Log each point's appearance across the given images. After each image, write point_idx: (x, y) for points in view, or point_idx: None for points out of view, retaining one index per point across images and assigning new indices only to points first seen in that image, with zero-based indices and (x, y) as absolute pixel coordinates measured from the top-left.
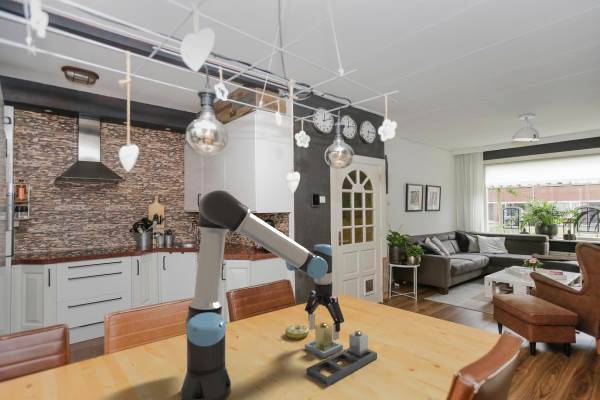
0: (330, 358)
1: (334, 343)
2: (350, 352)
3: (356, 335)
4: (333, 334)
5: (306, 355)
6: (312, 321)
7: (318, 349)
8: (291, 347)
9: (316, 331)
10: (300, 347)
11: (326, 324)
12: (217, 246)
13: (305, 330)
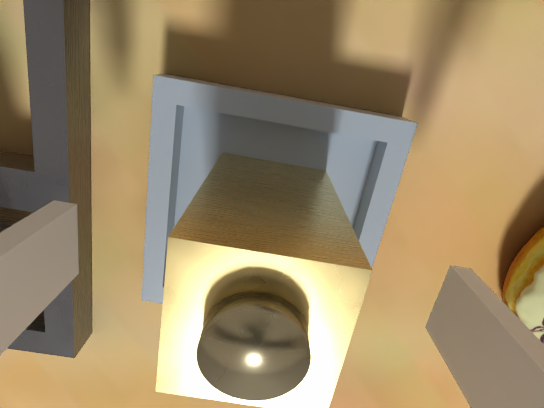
0: (43, 26)
1: None
2: (6, 228)
3: None
4: (24, 231)
5: (324, 23)
6: (492, 367)
7: (245, 111)
8: (528, 64)
9: (329, 228)
10: (452, 117)
11: (203, 364)
12: None
13: (539, 320)
